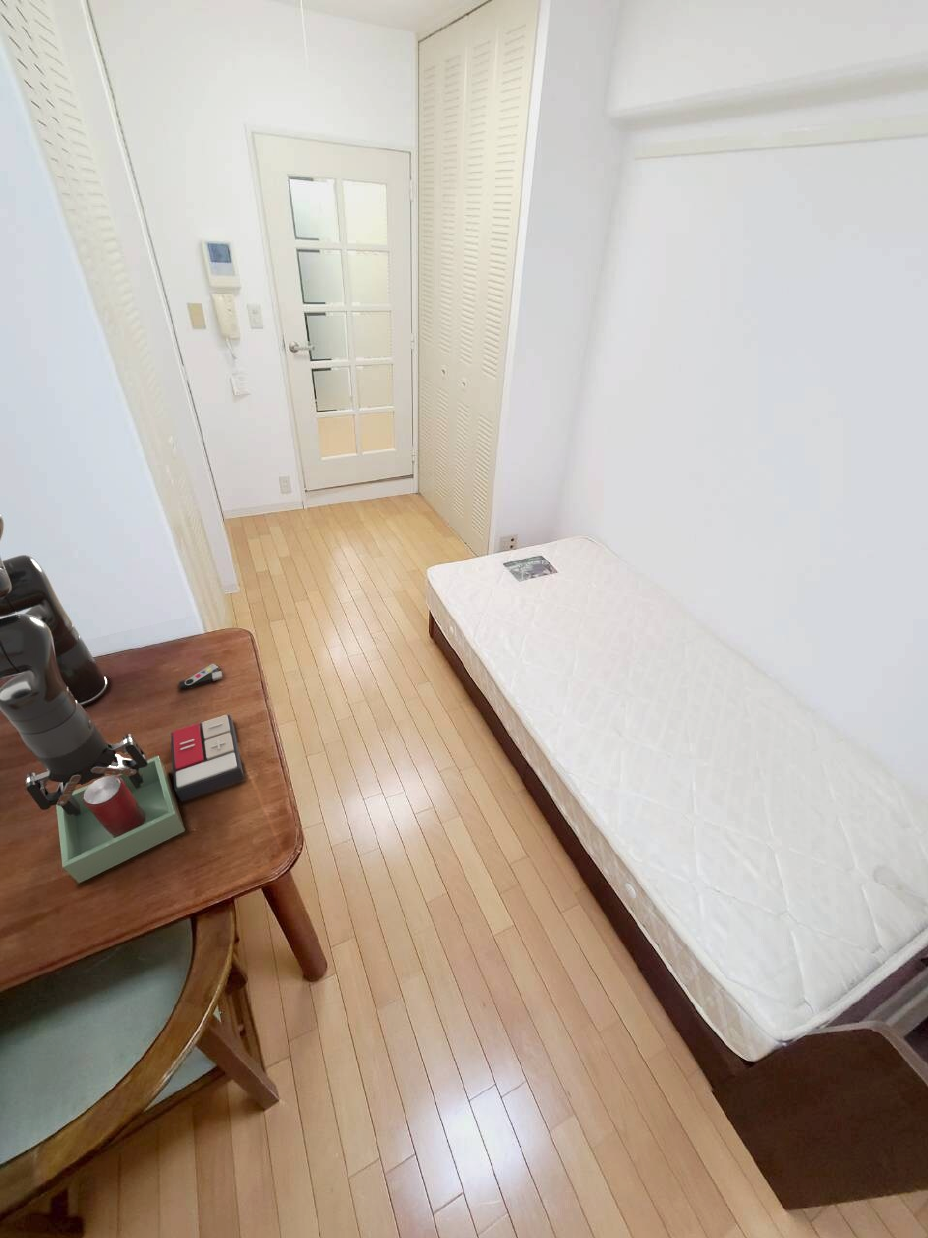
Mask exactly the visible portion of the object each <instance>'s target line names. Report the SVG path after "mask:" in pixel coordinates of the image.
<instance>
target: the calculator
mask: <svg viewBox="0 0 928 1238" xmlns="http://www.w3.org/2000/svg"><path fill="white" fill-rule="evenodd" d="M235 729H236V728H235V724H234V722H233V719H232V716H231V715H230V714H224V715H221V716H217V717H213V718H211V719H208V720H205V721H202V722H200V723H195V724H192V725H189V726H185V727H182V728H178V729H175V730H173V731H172V732H171V733H170V739H171V741H170V742H171V754H172V755H171V757H172V769H173V770H172V771H173V772H172V773H173V790H174V793H175V794H176V795H177V797H178V799H179V801H180V802H184V801H187V800H191V799H194V798H196V797H199V796H202V795H205V794H208V793H210V792H213V791H216V790H219V789H221V788H223V787H227V786H229V785H233V784H236V783H237V782H241V781H243V780H244V779H245V774H244V770H243V764H242V761H241V756H240V751H239V750H240V749H239V745H238V740H237V735H236V730H235Z"/></svg>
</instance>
